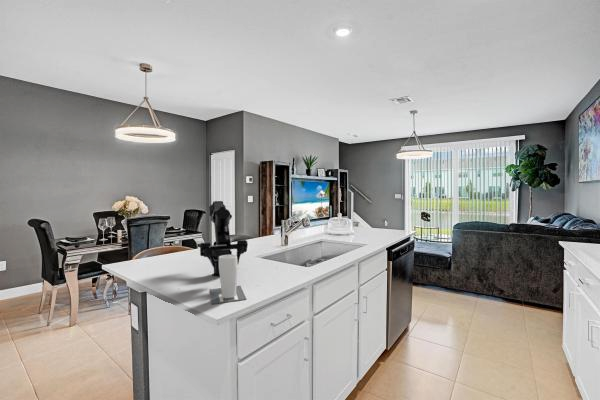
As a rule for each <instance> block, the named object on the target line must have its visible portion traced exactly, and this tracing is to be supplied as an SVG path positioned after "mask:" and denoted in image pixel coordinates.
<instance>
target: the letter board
mask: <svg viewBox="0 0 600 400" xmlns="http://www.w3.org/2000/svg"><path fill="white" fill-rule="evenodd" d="M209 292H210V299H211V300H210V301H211V305H219V304H225V303H226V304H227V303H233V302H238V301H246V300H247V297H246V295H245V293H244V290H243V288H242V286H241V285H237V286H236V296H235V297H233V298H229V299H226V298H223V297H222V292H221V287H219V288H218V287H217V288H210V289H209Z"/></svg>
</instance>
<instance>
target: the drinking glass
mask: <svg viewBox="0 0 600 400" xmlns="http://www.w3.org/2000/svg"><path fill="white" fill-rule="evenodd" d="M238 266H239V263H237V254H232V255H222V256H220V257H219V274H220V276H219V280H220V288H221V292H222V297H223V298H226V299H229V298H233V297H235V296H236V286H238V285H237V284H238V283H237V281H238V269H239V267H238Z"/></svg>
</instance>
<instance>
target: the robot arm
mask: <svg viewBox="0 0 600 400" xmlns="http://www.w3.org/2000/svg"><path fill="white" fill-rule="evenodd" d="M208 216H209V217H210V221H211V222H212V223H213V226H214V236H215V238H214V239H215V241H214V242H213V245H211V242H202V243H200V245H199V253H200V254H199V255H200V256H201V257H204V258H207V259H208V260H209V262H210V265H211V266H212V268H213V273H212V274H211V275H212V276H217V277H220V274H219V257H220V256H222V255H233V254H232V252H233V251H232V250H236V255H237V263H238V264H239V263H240V258H241V255H242V254H243V255H244V254H245V253H246V252H247V251H248V246H249V244H248V240H246V239H240V240H239V239H237V242H236V243H231V236H230V235H231V234H230V227H229V226H230V225H229V224H230V220H231V219H232V217H233V215H232V214H231V212H230V210H229V209H227V207H226V205H225V204H224V201H222V200H215V201H213V202H212V204H211V205H210V206H209V207H208Z"/></svg>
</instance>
